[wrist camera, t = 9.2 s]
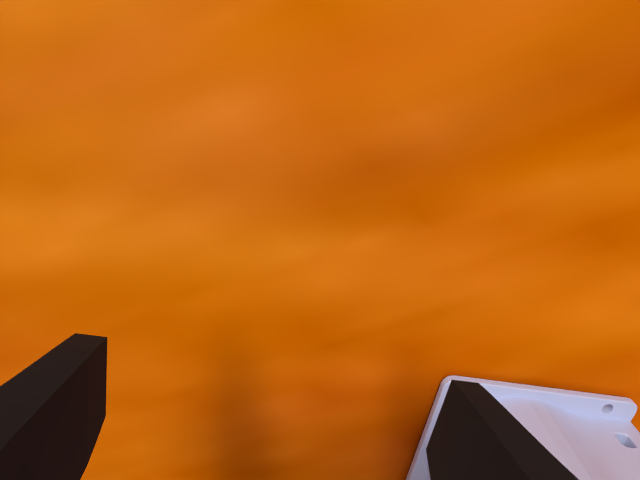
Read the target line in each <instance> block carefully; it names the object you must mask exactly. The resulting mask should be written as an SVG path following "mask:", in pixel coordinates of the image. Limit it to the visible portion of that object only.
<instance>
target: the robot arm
mask: <svg viewBox="0 0 640 480" xmlns="http://www.w3.org/2000/svg"><path fill="white" fill-rule="evenodd" d="M106 368H107V337H101V336H93V335H85V334H76V333H75V334H74V335H72V336H71V337H69V338H68V339H66V340H65V341H64V342H62V343H61V344H59V345H58V346H56V347H55V348H54V349H52V350H51V351H49V352H48V353H47V354H45V355H44V356H42V357H41V358H40V359H38V360H37V361H36V362H34V363H33V364H31V365H30V366H29V367H27V368H26V369H24V370H23V371H22V372H20V373H19V374H17V375H16V376H15V377H13V378H12V379H10V380H9V381H7V382H6V383H4V384H3V385H1V386H0V480H80V479H81V477H82V475H83V473H84V471H85V469H86V467H87V464H88V462H89V459H90V457H91V454H92V451H93V449H94V446H95V444H96V441H97V438H98V435H99V433H100V430H101V427H102V424H103V422H104V419H105V416H106ZM605 405H606V406H605ZM636 411H637V405H636V404H635V403H634V402H633V401H632V400H631V399H630V398H626V397H618V396H610V395H603V394H595V393H587V392H579V391H571V390H564V389H556V388H548V387H540V386H533V385H525V384H517V383H509V382H502V381H494V380H486V379H478V378H470V377H463V376H455V375H454V376H448V377H446V378H445V379H443V381H442V382H441V384H440V387H439V390H438V392H437V395H436V398H435V401H434V403H433V406H432V409H431V412H430V414H429V417H428V420H427V423H426V425H425V428H424V431H423V434H422V436H421V439H420V442H419V444H418V447H417V450H416V453H415V455H414V458H413V461H412V464H411V466H410V469H409V472H408V475H407V477H406V480H640V433H639V431H638V430H637V429H636V428H635V427H634V425H633V424H632V423H631V420H632V418H633V417H634V415H635V413H636Z"/></svg>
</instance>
